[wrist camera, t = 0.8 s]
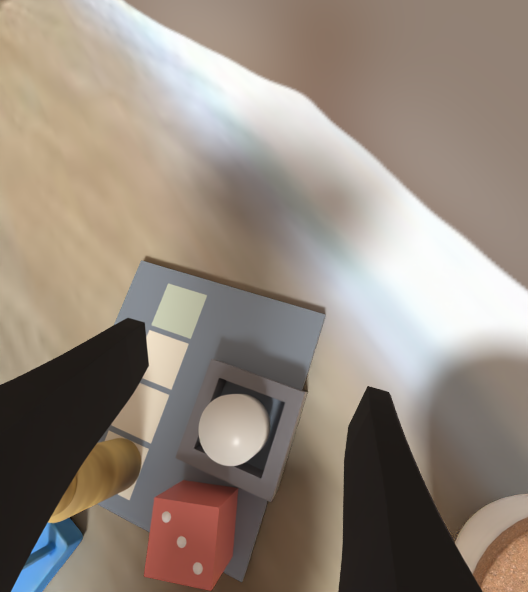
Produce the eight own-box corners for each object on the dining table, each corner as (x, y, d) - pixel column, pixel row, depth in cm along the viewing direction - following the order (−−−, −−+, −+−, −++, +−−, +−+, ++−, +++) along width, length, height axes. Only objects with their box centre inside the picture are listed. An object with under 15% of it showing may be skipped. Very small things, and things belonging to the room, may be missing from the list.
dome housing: (277, 491, 23) (271, 502, 21) (189, 451, 25) (175, 458, 23) (307, 392, 24) (304, 392, 22) (222, 361, 26) (211, 358, 24)
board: (244, 577, 22) (241, 582, 22) (55, 476, 27) (48, 478, 26) (325, 316, 26) (325, 314, 25) (145, 262, 30) (141, 260, 29)
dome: (258, 468, 22) (249, 477, 20) (203, 443, 23) (188, 450, 21) (278, 406, 23) (272, 408, 20) (224, 385, 24) (212, 385, 22)
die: (232, 556, 22) (210, 592, 18) (175, 545, 23) (142, 577, 19) (238, 487, 23) (218, 508, 19) (183, 480, 24) (153, 498, 20)
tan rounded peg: (129, 500, 24) (39, 549, 17) (89, 479, 25) (-13, 517, 18) (148, 448, 25) (70, 474, 18) (108, 430, 26) (18, 447, 19)
